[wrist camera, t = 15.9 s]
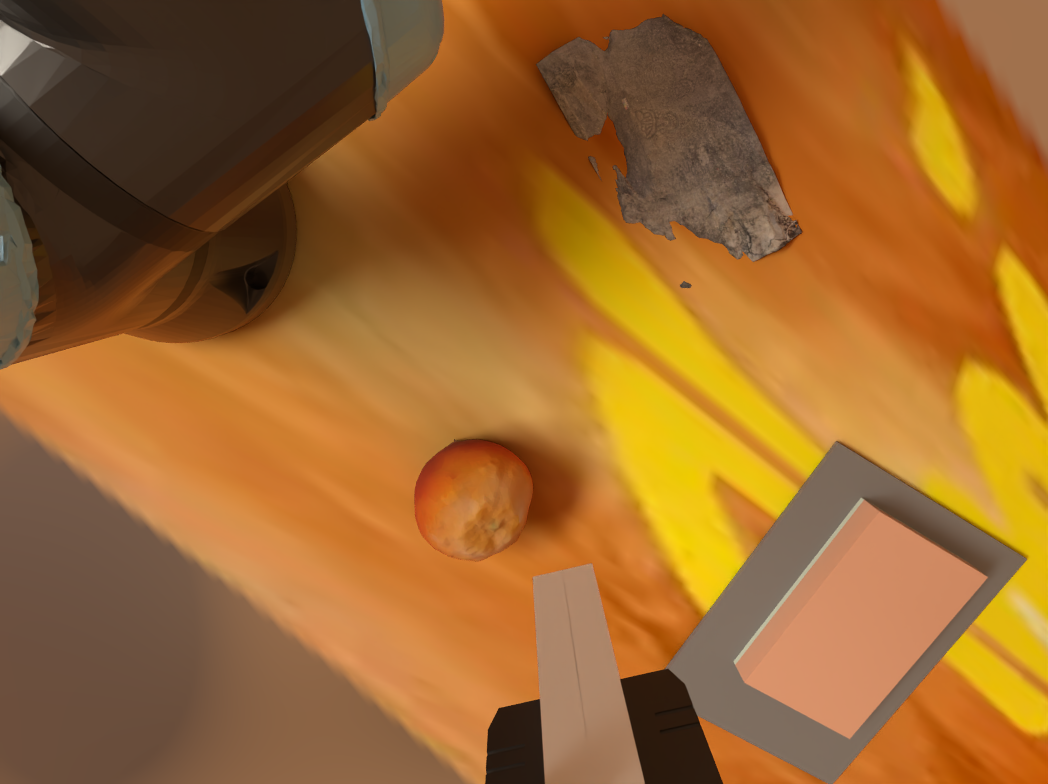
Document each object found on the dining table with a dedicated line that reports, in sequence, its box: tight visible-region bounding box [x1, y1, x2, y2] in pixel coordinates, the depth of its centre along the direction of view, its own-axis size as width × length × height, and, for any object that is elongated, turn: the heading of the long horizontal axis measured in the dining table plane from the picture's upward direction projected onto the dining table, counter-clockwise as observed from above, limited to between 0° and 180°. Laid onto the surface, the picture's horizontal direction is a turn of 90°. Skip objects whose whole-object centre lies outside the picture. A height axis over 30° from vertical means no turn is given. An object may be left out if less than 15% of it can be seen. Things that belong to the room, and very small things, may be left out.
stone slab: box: [536, 14, 802, 288], centre depth 41 cm, size 18×2×10 cm
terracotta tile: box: [733, 498, 988, 739], centre depth 48 cm, size 2×10×16 cm
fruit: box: [415, 439, 533, 562], centre depth 44 cm, size 8×8×8 cm
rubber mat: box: [665, 441, 1027, 784], centre depth 50 cm, size 24×18×1 cm
